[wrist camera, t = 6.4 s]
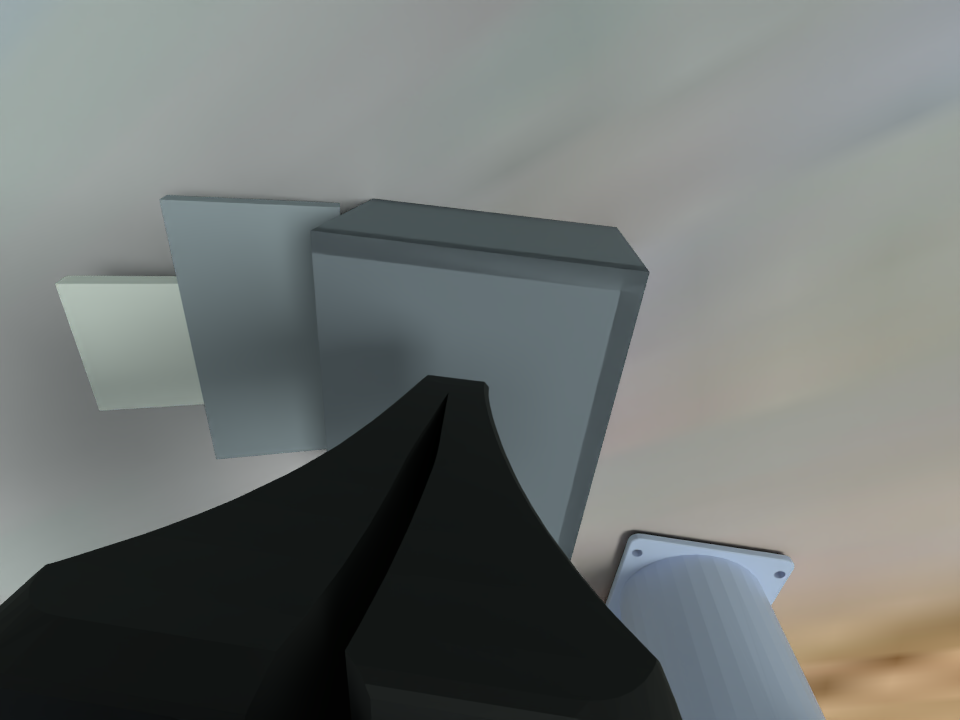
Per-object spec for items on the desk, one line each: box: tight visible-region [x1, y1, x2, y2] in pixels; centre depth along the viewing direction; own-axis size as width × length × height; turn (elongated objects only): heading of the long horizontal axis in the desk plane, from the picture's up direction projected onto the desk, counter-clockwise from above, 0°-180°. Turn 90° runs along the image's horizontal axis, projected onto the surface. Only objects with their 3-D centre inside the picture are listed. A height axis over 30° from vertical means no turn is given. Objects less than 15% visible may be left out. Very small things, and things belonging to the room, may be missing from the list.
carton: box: [310, 199, 649, 561], centre depth 17 cm, size 11×9×6 cm
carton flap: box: [55, 195, 340, 459], centre depth 18 cm, size 11×1×9 cm
